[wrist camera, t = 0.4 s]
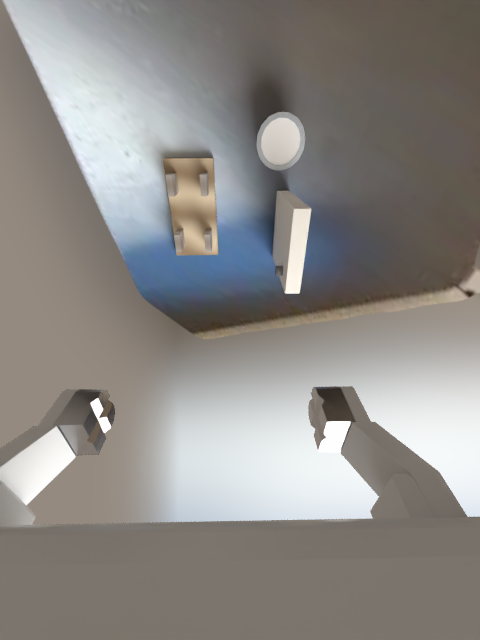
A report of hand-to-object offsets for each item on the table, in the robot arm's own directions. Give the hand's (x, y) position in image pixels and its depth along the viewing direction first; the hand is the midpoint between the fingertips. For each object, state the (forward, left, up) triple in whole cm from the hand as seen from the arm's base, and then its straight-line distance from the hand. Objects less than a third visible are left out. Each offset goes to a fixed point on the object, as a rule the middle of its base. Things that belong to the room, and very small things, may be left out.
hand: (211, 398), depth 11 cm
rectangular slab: (+4, +9, -44) cm, 45 cm away
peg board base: (+1, -7, -44) cm, 44 cm away
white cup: (-9, +7, -44) cm, 46 cm away
